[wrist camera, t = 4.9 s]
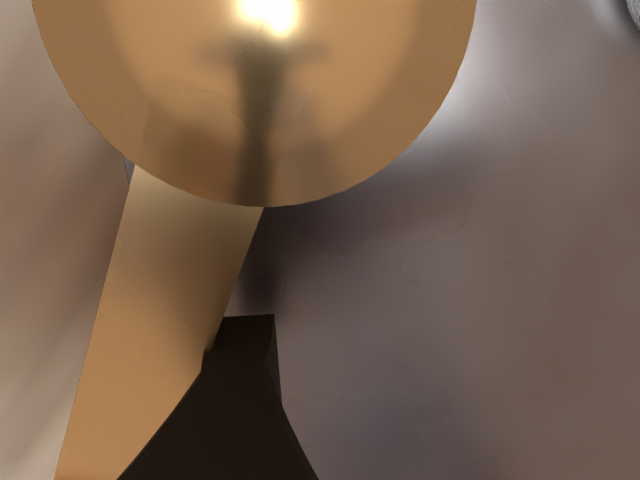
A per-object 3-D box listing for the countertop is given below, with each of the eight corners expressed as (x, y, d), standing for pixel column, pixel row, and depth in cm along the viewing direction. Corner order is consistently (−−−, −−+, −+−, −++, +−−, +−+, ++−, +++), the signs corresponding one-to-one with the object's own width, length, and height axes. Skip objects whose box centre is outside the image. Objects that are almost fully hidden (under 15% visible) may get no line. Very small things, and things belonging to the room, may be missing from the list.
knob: (148, -272, 6) (48, -465, 4) (475, -106, 7) (591, -160, 4) (10, 420, 11) (-84, 571, 8) (226, 468, 11) (209, 617, 9)
